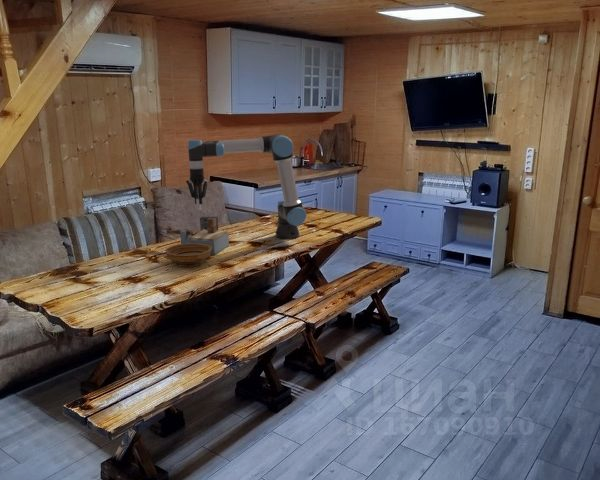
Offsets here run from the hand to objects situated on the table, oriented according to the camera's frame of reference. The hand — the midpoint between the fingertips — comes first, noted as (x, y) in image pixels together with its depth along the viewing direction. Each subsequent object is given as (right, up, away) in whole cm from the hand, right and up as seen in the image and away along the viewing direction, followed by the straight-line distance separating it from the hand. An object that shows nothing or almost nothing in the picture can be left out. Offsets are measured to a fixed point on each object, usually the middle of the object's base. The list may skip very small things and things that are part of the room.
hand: (199, 209), depth 303 cm
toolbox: (+2, -23, +9) cm, 24 cm away
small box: (-2, -13, +47) cm, 49 cm away
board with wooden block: (+4, -15, +6) cm, 17 cm away
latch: (-12, -13, +6) cm, 19 cm away
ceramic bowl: (-2, -30, -18) cm, 35 cm away
